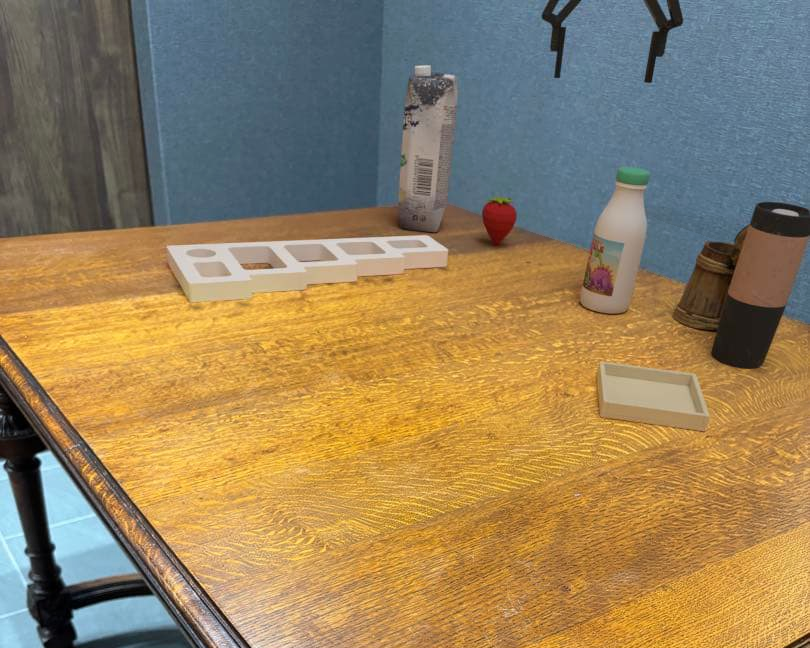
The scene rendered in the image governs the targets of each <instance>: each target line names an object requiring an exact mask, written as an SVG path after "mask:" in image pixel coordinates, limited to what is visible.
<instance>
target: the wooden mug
mask: <svg viewBox="0 0 810 648" xmlns="http://www.w3.org/2000/svg"><path fill="white" fill-rule="evenodd" d="M749 225H750V223H749V224H748V225H745V227H743V228H742V229H741V230H740V231H739V232H738V233H737V234H736V236H735V238H734V240H733V243H729V242H723V241H712V240H711V241H706V242H705V243H704V244H703V248H702V249H701V251H700V252H699V253H698V255H697V257H696V259H695V265H694V267H693V270H692V273H691V275H690V277H689V279H688V282H687V284H686V286H685V289H684V290H683V293H682V296H681V298H680V300H679V302H678V304H676V306H675V308H674V310H673V313H672V317H673V318H674V320H676V321H677V322H679V323H680V324H683V325H685V326H687V327H689V328H693V329H698V330H703V331H709V332H717V329H718V326H719V322H720V318H721V315H722V311H723V308H724V304H725V300H726V297H727V294H728V290H729V287H730V284H731V281H732V278H733V274H734V271H735V268H736V265H737V262H738V259H739V256H740V253H741V250H742V247H743V243H744V240H745V237H746V234H747V231H748V228H749Z"/></svg>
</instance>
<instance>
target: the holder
mask: <svg viewBox="0 0 810 648" xmlns="http://www.w3.org/2000/svg"><path fill="white" fill-rule="evenodd" d="M449 251H450V250H449V249H448V248H447V247H445V246H444V245H442V244H441V243H439V242H438V241H436V240H435V239H434V238H433V237H431V236H429V235H426V234H423V235H422V234H421V235H399V236H398V235H397V236H395V235H393V236H374V237H373V236H372V237H348V238H347V237H346V238H326V239H325V238H324V239H323V238H322V239H300V240H298V239H297V240H277V241H276V240H275V241H251V242H250V241H249V242H248V241H247V242H227V243H225V242H224V243H222V242H221V243H200V244H176V245H175V244H173V245H166V255H167V265H168V266H169V268H170V270H171V272H172V273H173V275H174V277H175V278H176V280H177V282H178V284H179V285H180V287H181V289H182V291H183V292H184V294H185V296H186V298H187V299H188V301H189V302H190V303H206V302H222V301H236V300H237V301H238V300H250V299H253V294H260V293H261V294H263V293H274V292H276V293H277V292H292V291H306V290H307V289H308V285H322V284H323V285H324V284H337V283H353V282H357V281H358V277H371V276H388V275H390V276H391V275H404V272H405V270H413V269H414V270H415V269H432V268H446V267H448V260H449ZM250 264H251V265H252V264H269V265H270V266H271V267H272V268H260V269H259V268H258V269H257V268H256V269H246V268H244V267H243V266H242V265H250Z"/></svg>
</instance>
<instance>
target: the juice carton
mask: <svg viewBox="0 0 810 648" xmlns="http://www.w3.org/2000/svg"><path fill="white" fill-rule="evenodd" d="M406 87H407V88H406V93H405V99H404V108H403V109H404V111H403V122H402V123H403V125H402V138H401V139H402V140H401V153H400V154H401V155H400V166H399V167H400V170H399V183H398V198H397V199H398V201H397V213H398V221H399V228H400V229H401V230H402V229H403V230H408V231H409V230H410V231H417V232H426V233H437V232H438V231H439V229H440V226H441V223H442V221H443V218H444V216H445V212H446V209H447V204H448V198H449V188H450V178H451V169H452V158H453V149H454V140H455V129H456V128H455V127H456V119H457V108H458V107H457V106H458V77H457V75H455V74H448V73H441V72H432V66H431V65H415V66H414V73H413V75H410V76H409V77H408V82H407V86H406Z"/></svg>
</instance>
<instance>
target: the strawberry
mask: <svg viewBox="0 0 810 648" xmlns="http://www.w3.org/2000/svg"><path fill="white" fill-rule="evenodd" d="M497 189H498V191H499V193H500V194H502V192H501V190H500V187H498V188H497ZM484 200H485V201H488V202H486V203H485V204H484V205H483V208H482V210H481V218H482V223H483V225H484V229H485V230H486V233H487V235H488V236H489V239H490V240H491V243H492V245H495V246H499V245H500V244H501V243H502V241H504V239H506V237H508V236H509V234H510V232H511V231H512V230H513V228H514V226H515V224H516V221H517V217H518V215H517V210H516V208H515V207H514V205H512V204H511V203H514V200H512V197H506V198H504V197H502V195H500V196H498V195H496V196H495V197H492V198H485V199H484Z"/></svg>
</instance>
